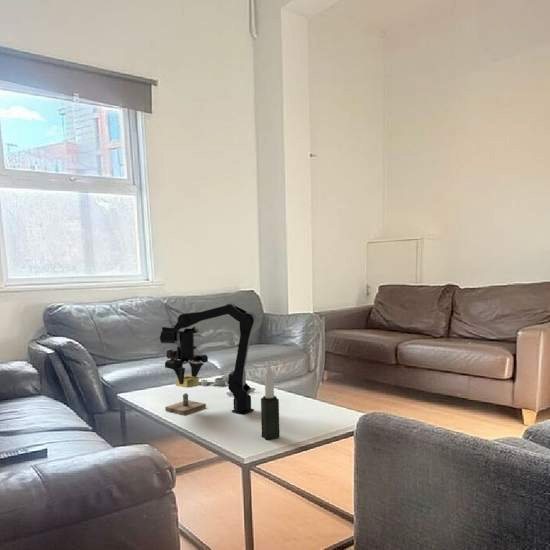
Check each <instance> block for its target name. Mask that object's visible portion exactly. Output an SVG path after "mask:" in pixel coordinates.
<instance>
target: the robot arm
mask: <svg viewBox="0 0 550 550" xmlns="http://www.w3.org/2000/svg"><path fill="white" fill-rule="evenodd" d="M226 315H229V316H230V317H232V318H233V319H234V320H235V321H237V322H239V333H240V336H239V342H238V346H237V352H236V353H237V354H236V359H235V365H234V370H232V371H230V372H229V373H228V375H229V380H228V382H226V385H228V390H229V392H230V393H231V394H232V395H233V409H232V410H231V412H232V413H235V412H236V414H240V415H246V414H248V413H250V412H254V411H255V408H252V395H250V394H251V392H252V387H250V385H249V384H248V383H247V378H246V377H247V375H246V365H247V358H248V354H249V348H250V347H249V346H250V342H251V336H252V333H253V331H254V328H255V325H256V323H257V322H258V321H257V320H258V318H257V315H256V314H255V313H254V312H251V311H248V310H245V309H243V308H241V307H239V306H237V305H236V304H234V303H232V302H231V303H228V304H227V303H226V305H221V306H218V307H214V308H209V309H206V310H202V311H188V312H187V311H186V312H183V313H181V314H179V316H178V317H177V322H176V323H175V325H174V326H173V327H172V326H162V328H161V331H160V336H159V341H160V344H164V345H165V344H169V345H170V344H171V345H173V344H175V345H176V344H177V342H179V346H177V347H176V350H173V349H169V350H166V358H167V360H166V361H165V362H164V369H170V370H172V371H174V372H175V375H176V378H178V380H179V383H180V384H183V379H184V376H185V372H186V367H183V366H184V365H187V364H189V366H190V368H191V369H190V371H191V376H195V377H198V375H199V372H200V371H201V368H202V367H203V365H205V363H208V362H209V356H207V354H205V353H204V354H202V353H197V354H196V353H195V350H196V349H197V345H195V334H198V333H199V332H200V330H199V329H197V326H194V325H197V324H198V323H200V322H203V321H207V320H209V319H213V318H217V317H221V316H226ZM191 326H193V327H192V328H190V327H191ZM182 329H184V330H182Z"/></svg>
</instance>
